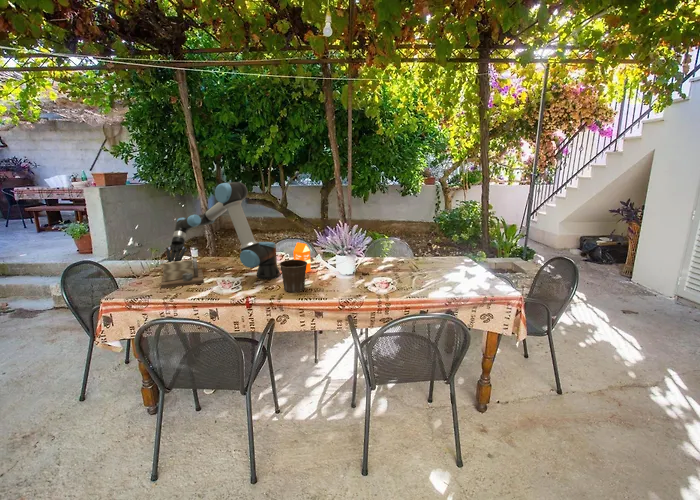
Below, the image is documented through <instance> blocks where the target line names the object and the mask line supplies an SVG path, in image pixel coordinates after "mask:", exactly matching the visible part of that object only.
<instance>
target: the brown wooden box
mask: <svg viewBox="0 0 700 500" xmlns="http://www.w3.org/2000/svg"><path fill="white" fill-rule="evenodd" d="M192 260H193V270H194V277H192V273H186V274H183V275H182V276H183V279H176V280H170V281H165V280H164V273H163V272H162V277H161V281H160V289H168V288H176V287H184V286H192V285H193V286H194V285H200V284H205V281H204V275H203V274H204V273H203V268H198V260H197V257H195V258H194V257H193V258H192Z"/></svg>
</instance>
